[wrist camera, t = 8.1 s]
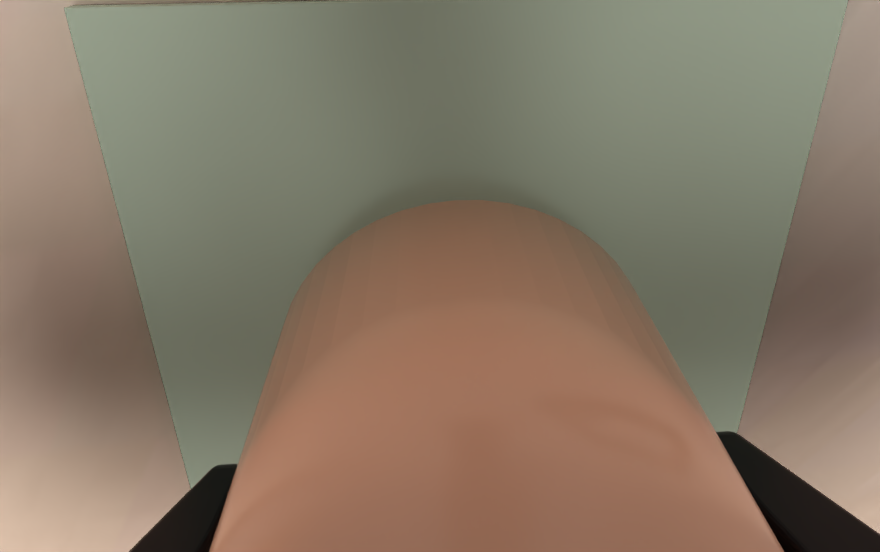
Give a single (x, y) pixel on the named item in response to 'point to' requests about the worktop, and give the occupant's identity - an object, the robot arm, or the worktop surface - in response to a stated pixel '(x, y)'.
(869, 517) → the worktop surface
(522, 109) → the sage mat
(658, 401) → the peach round cylinder
